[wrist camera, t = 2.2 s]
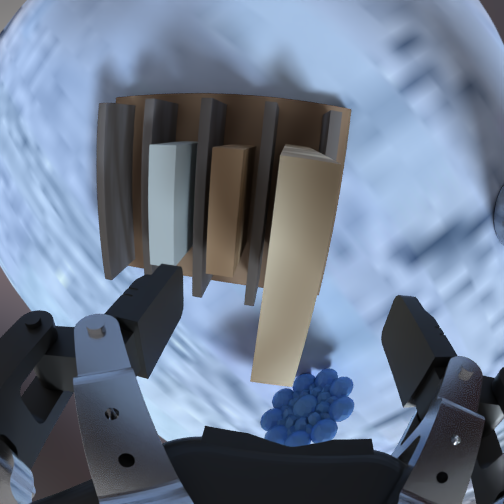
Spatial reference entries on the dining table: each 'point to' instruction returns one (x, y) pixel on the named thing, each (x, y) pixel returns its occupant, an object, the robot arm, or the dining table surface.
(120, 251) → the rack
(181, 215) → the offcut grey
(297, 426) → the grapes
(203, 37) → the dining table surface
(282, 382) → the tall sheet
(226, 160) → the offcut oak
